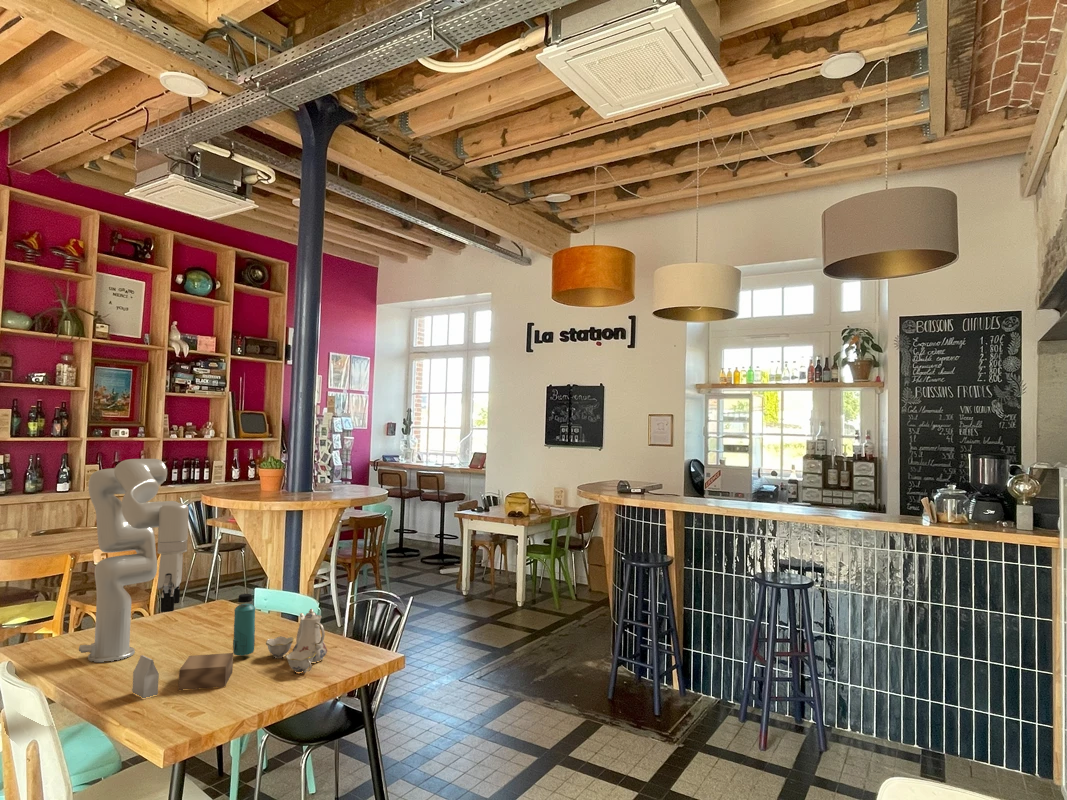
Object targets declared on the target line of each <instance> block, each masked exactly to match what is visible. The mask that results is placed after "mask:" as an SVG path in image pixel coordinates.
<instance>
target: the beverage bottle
mask: <svg viewBox="0 0 1067 800" xmlns="http://www.w3.org/2000/svg"><path fill="white" fill-rule="evenodd" d="M252 601H253V595H252V593H241V594H239V595H238V599H237V602H238V603H241V604H238V605H237V606H236V607H235V608H234V620H233V621H234V622H233V639H232V653H233V656H234V655H235V656H238V657H239V656H248V655H251V654H253V653H254V652H255V646H256V643H255V642H256V639H255V638H256V634H255V632H256V625H255V624H256V606H254V605H253V604H252V603H250V602H252Z"/></svg>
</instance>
